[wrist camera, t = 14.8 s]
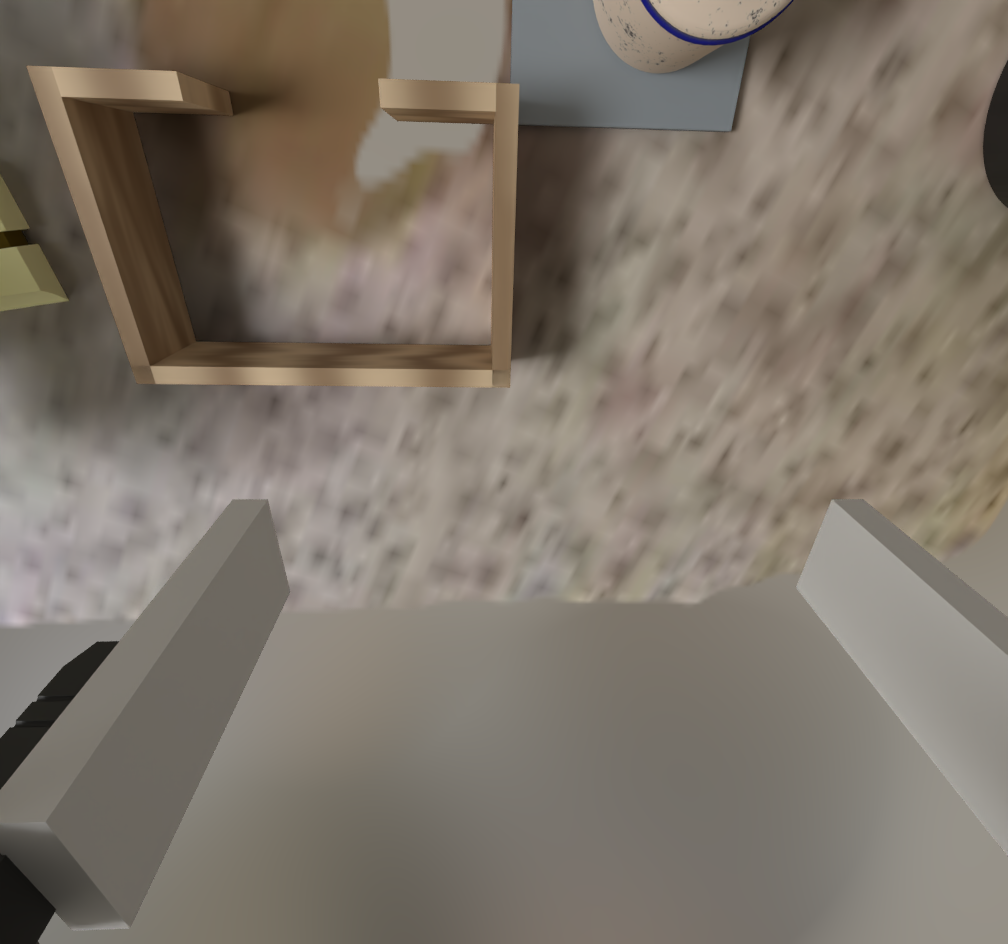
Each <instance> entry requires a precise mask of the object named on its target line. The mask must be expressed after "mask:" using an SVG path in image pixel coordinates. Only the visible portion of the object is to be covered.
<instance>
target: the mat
mask: <svg viewBox="0 0 1008 944" xmlns="http://www.w3.org/2000/svg"><path fill="white" fill-rule="evenodd" d="M749 40H750V36H748V37H746V38H744V39H741V40H738V41H735V42H732V43H728V44H724V45H722V46H721V47H719V48H717V49H716V50H714V51H712V52H711V53H709V54H707V55H706V56H704V57H702V58H701V59H699V60H697V61H696V62H694V63H692V64H691V65H689V66H687V67H685V68H682V69H680V70H677V71H673V72H669V73H648V72H644V71H640V70H638V69H636V68H633V67H632V66H630V65H628V64H627V63H625V62H624V61H623V60H621V59H620V58H619V57H618V56H617V55H616V54H615V52H614V51H613V50H612V49H611V47H610V46H609V45H608V43H607V41H606V40H605V38H604V36H603V34H602V32H601V29H600V27H599V24H598V21H597V18H596V14H595V10H594V3H593V0H512V38H511V80H510V83H511V84H519V115H518V125H532V126H562V127H592V128H622V129H653V130H683V131H713V132H729V131H731V128H732V123H733V118H734V113H735V108H736V104H737V99H738V94H739V89H740V84H741V79H742V74H743V69H744V64H745V59H746V54H747V50H748V45H749Z"/></svg>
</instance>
